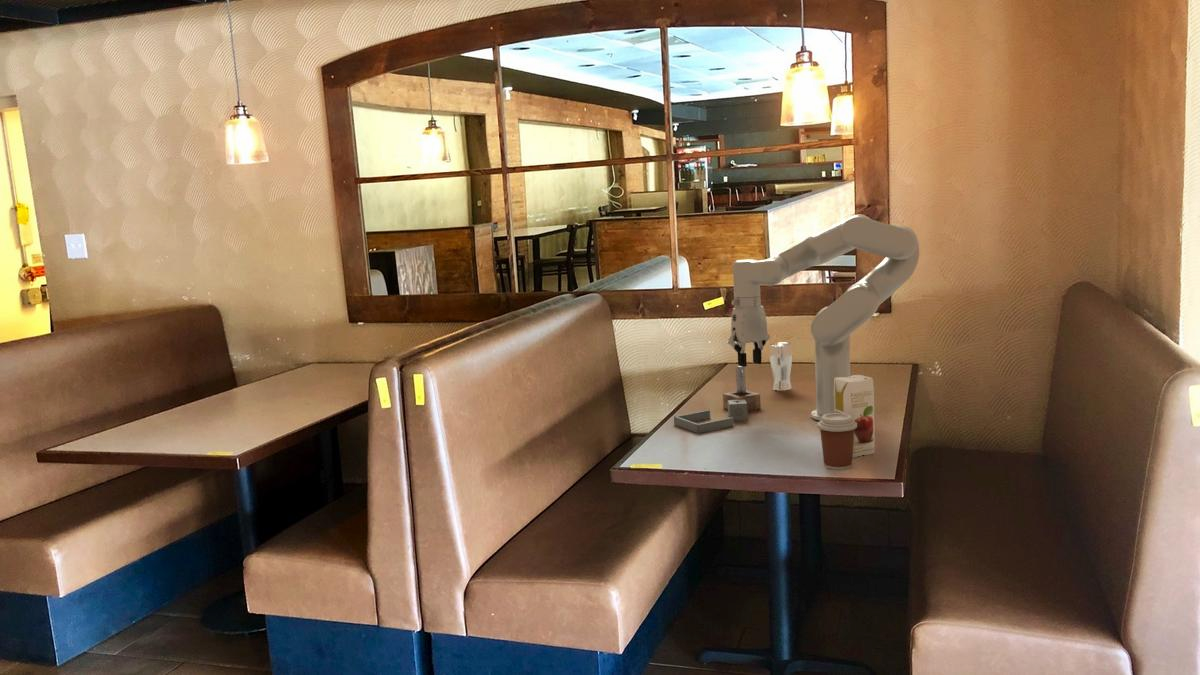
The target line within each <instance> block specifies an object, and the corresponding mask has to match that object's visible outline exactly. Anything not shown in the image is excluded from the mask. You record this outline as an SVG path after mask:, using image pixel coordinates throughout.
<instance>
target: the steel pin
mask: <svg viewBox="0 0 1200 675" xmlns="http://www.w3.org/2000/svg"><path fill="white" fill-rule="evenodd" d="M735 383H736V385H735V387H736V388H735V389H736V390H735V391H737V395H738V396H743V395H746V390H747V389H746V388H747V386H746V383H747V382H746V367H743V366H739V365H735Z"/></svg>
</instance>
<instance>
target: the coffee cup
mask: <svg viewBox="0 0 1200 675" xmlns="http://www.w3.org/2000/svg"><path fill="white" fill-rule="evenodd" d="M816 426H817V429H818V430H819V431H820V439H821V447H822V455H823V457H822V458H823V466H824V467H825V468H826V467H827V468H826V469H828V468H829V470H833V469H835V470H834V471H839V470H840V471H843V469H844V470H849V469H851V468H852V467H853V458H852V456H853V441H854V429H856V428H857V423H856V422H855V421H854V420H853V419H852V416H851V415H849V414H845V413H829V414H825V415H823V416H822V420H821V421H819V420H818V422H817V424H816Z"/></svg>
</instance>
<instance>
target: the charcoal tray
mask: <svg viewBox="0 0 1200 675" xmlns="http://www.w3.org/2000/svg"><path fill="white" fill-rule="evenodd" d="M709 419H711V411H710V409H706V410H700V411H696V412H691V413H690V412H689V413H686V414H680V415H676V416H674V417H673V422H674V424H673V425H675V426H676V427H680V428H682V429H685V430H687V431H690V432H693V433H697V434H702V433H706V432H711V431H716V429H717V430H721V429H720V428H722V429H725V428H724V427H726V428H730V427H729V426H731V427H734V426H735V421H734V418H733V417H730V418H729V417H726V418H721V419H718V420H711V421H707V422H702V423H697V422H698V421H704V420H709ZM733 425H734V426H733Z"/></svg>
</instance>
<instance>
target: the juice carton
mask: <svg viewBox="0 0 1200 675" xmlns="http://www.w3.org/2000/svg"><path fill="white" fill-rule="evenodd" d="M874 388H875V387H874V378H873V377H870V376H866V375H861V374H853V375H852V374H851V375H850V376H849V377H839V378H834V413H845V414H849V415H851V416H852V419H853V420H854V421H855V422H856V423H857V428H856V429H854V441H853V456H852V459H853V458H859V457H863V456H862V455H864V456H869V455H873V454H875V446H876V445H875V442H876V438H875V434H876V433H875V431H876V429H875V428H876V427H875V389H874ZM858 456H859V457H858Z"/></svg>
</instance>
